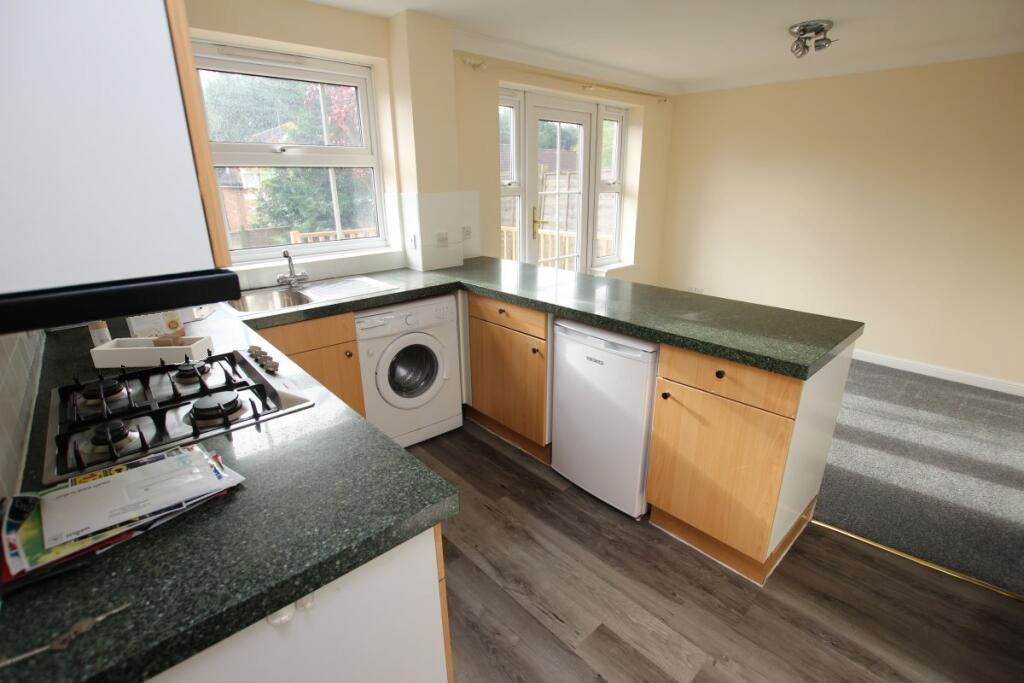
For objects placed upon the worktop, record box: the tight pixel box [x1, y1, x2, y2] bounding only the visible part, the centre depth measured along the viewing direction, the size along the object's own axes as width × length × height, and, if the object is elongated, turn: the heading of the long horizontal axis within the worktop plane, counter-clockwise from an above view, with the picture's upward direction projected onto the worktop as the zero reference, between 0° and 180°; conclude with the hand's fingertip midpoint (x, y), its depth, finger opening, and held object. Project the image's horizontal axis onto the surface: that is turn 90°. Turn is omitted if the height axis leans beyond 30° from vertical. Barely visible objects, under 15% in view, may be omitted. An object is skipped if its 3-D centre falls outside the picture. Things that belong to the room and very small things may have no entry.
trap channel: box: [89, 335, 215, 369], centre depth 141 cm, size 28×10×6 cm, turn 93°
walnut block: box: [153, 335, 184, 347], centre depth 140 cm, size 5×5×4 cm
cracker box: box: [125, 310, 187, 338], centre depth 156 cm, size 14×6×21 cm, turn 141°
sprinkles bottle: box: [87, 320, 113, 348], centre depth 145 cm, size 5×5×14 cm
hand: (127, 291), depth 134 cm, fingers closed
